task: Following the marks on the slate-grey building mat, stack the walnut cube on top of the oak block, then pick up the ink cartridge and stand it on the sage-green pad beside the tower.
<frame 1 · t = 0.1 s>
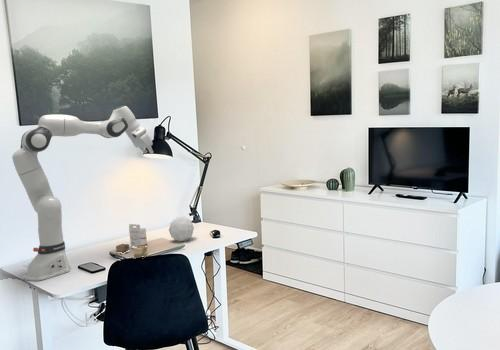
hand: (149, 153, 265), 54 cm above the table, tool tilted 30°, fingers open, 8 cm apart
oak block: (141, 256, 253), resting on building board
ink cartridge box: (139, 249, 273), on the table
building board: (133, 258, 252), on the table
white faceted ball: (182, 240, 284), on the table
walnut cube: (123, 253, 264), on the table
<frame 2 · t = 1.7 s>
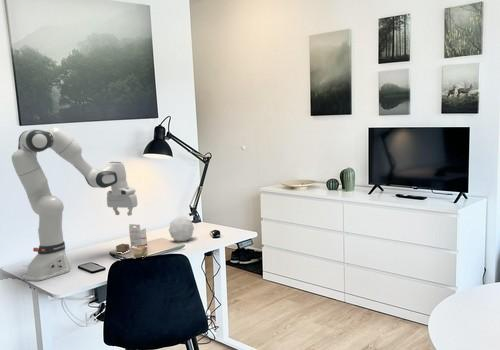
hand: (123, 215, 263), 21 cm above the table, tool pointing down, fingers open, 8 cm apart
nothing on the table moved.
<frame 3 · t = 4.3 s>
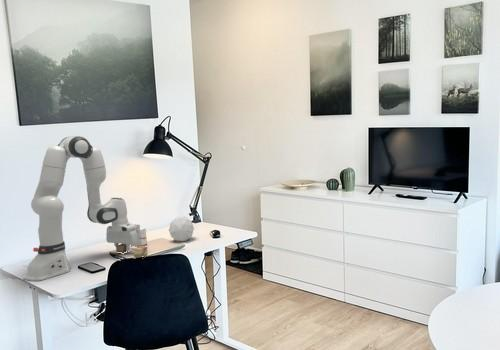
hand: (123, 250, 264), 2 cm above the table, tool pointing down, fingers closed on walnut cube, 5 cm apart
walnut cube: (123, 253, 264), on the table, touching gripper
everything else where it was.
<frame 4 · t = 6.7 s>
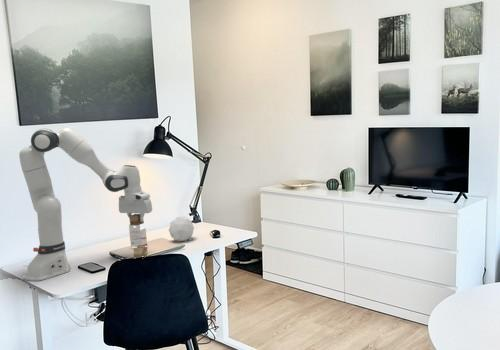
hand: (136, 221, 252), 20 cm above the table, tool pointing down, fingers closed on walnut cube, 5 cm apart
walnut cube: (137, 224, 252), point 18 cm above the table, touching gripper
everything else where it was.
when the fingers open (8 cm above the table, at t = 9.3 s): walnut cube stays where it is, resting on oak block.
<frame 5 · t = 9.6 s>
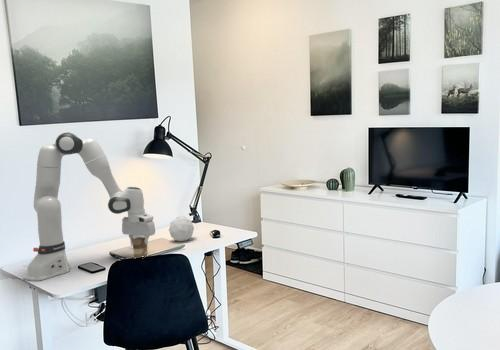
hand: (139, 243, 252), 8 cm above the table, tool pointing down, fingers open, 7 cm apart
oak block: (141, 256, 253), resting on building board, touching walnut cube
walnut cube: (140, 247, 252), point 5 cm above the table, touching oak block
everything else where it was.
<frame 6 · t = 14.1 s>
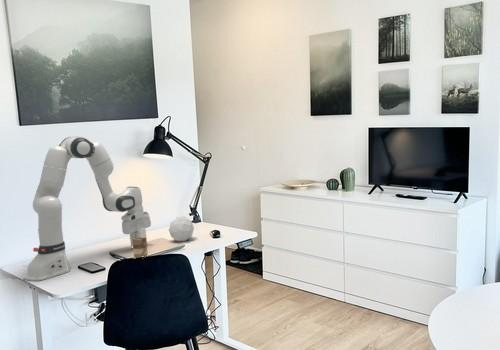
hand: (138, 238, 272), 6 cm above the table, tool pointing down, fingers closed on ink cartridge box, 5 cm apart
ink cartridge box: (139, 248, 273), on the table, touching gripper
everything else where it was.
when the fingers open (8 cm above the table, at t = 20.5 s): ink cartridge box stays where it is, resting on building board.
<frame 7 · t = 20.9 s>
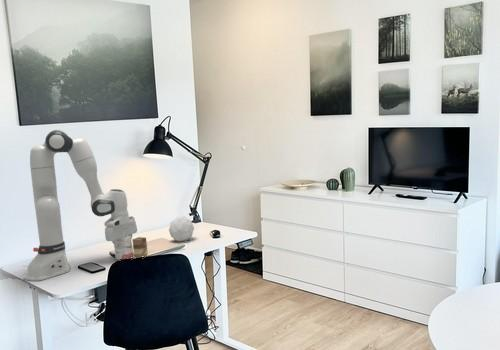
hand: (123, 245, 252), 8 cm above the table, tool pointing down, fingers open, 8 cm apart
ink cartridge box: (124, 258, 253), resting on building board
everything else where it was.
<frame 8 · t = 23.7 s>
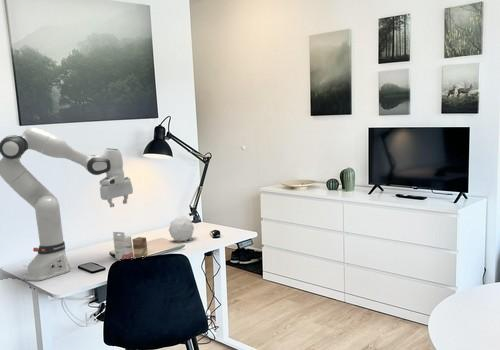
hand: (118, 205, 249), 29 cm above the table, tool pointing down, fingers open, 8 cm apart
nothing on the table moved.
at the end: walnut cube 0.1 cm off-centre on the oak block, point 5.0 cm above the oak block's base; ink cartridge box inside the target area (0.4 cm from its centre), on the table; ink cartridge box tilted 0° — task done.
